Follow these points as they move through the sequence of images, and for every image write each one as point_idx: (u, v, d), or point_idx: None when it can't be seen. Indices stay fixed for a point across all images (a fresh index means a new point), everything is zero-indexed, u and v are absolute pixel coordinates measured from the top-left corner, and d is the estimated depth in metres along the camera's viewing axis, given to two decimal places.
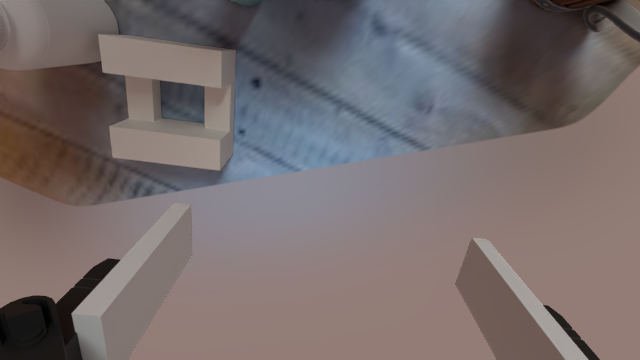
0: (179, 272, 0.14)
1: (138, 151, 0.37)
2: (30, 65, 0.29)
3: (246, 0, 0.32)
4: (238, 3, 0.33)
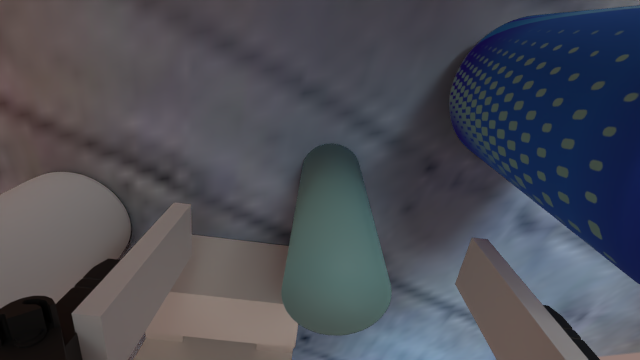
0: (179, 272, 0.14)
1: None
2: None
3: None
4: None
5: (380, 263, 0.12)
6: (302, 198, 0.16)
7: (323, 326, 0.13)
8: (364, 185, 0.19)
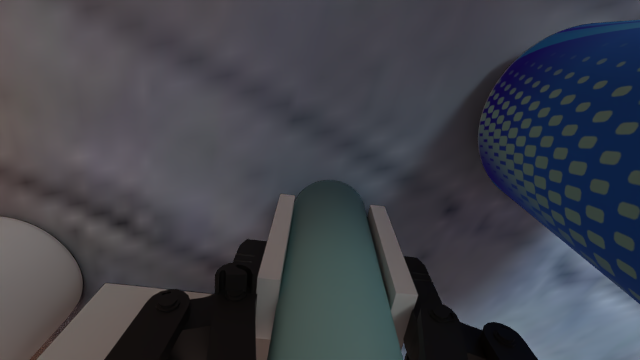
0: None
1: None
2: None
3: None
4: None
5: None
6: (289, 271, 0.12)
7: None
8: (372, 241, 0.15)
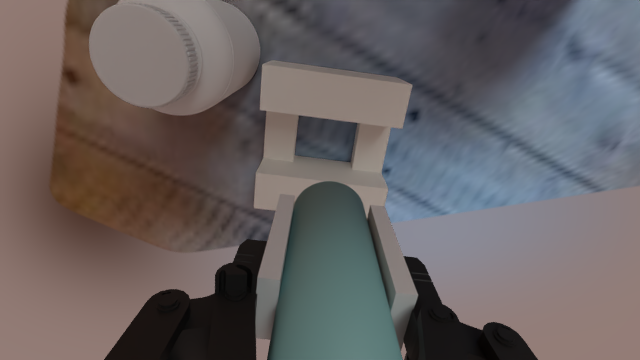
0: None
1: None
2: (202, 110, 0.22)
3: None
4: None
5: None
6: (289, 273, 0.12)
7: None
8: (372, 242, 0.15)
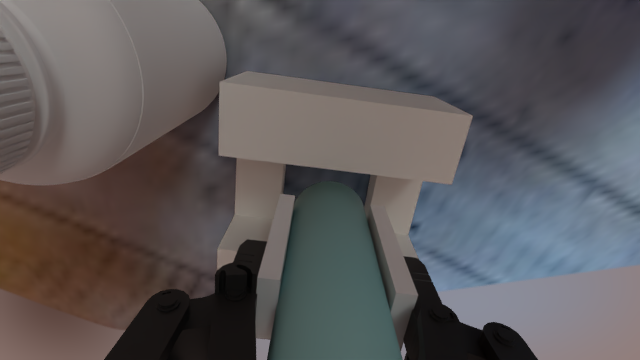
0: None
1: None
2: (89, 175, 0.11)
3: None
4: None
5: None
6: (289, 273, 0.12)
7: None
8: (372, 242, 0.15)
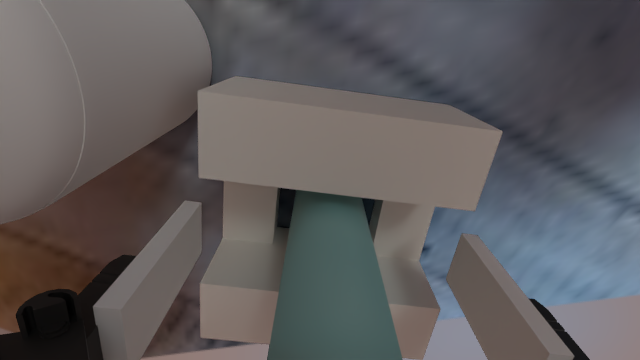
0: (190, 269, 0.15)
1: (258, 327, 0.17)
2: (20, 217, 0.09)
3: None
4: None
5: (388, 329, 0.09)
6: (294, 234, 0.14)
7: None
8: (365, 214, 0.17)
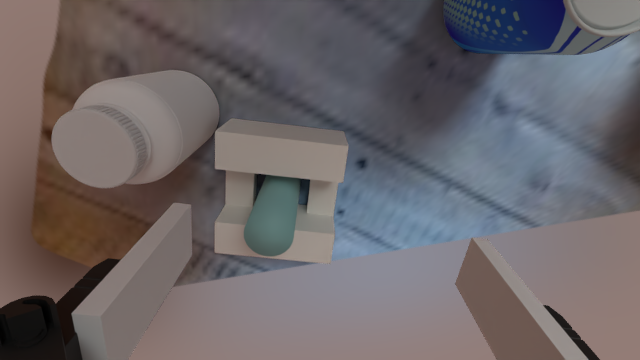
0: (179, 272, 0.14)
1: (244, 246, 0.34)
2: (156, 179, 0.26)
3: None
4: None
5: (287, 219, 0.26)
6: (259, 194, 0.31)
7: (264, 251, 0.27)
8: (297, 187, 0.34)
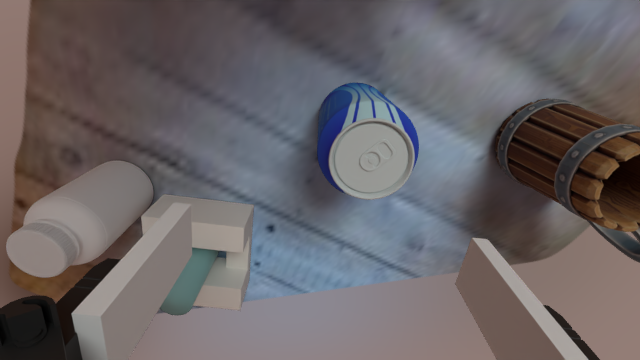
0: (179, 272, 0.14)
1: None
2: None
3: None
4: None
5: (187, 290, 0.35)
6: None
7: (172, 311, 0.36)
8: (213, 251, 0.43)
